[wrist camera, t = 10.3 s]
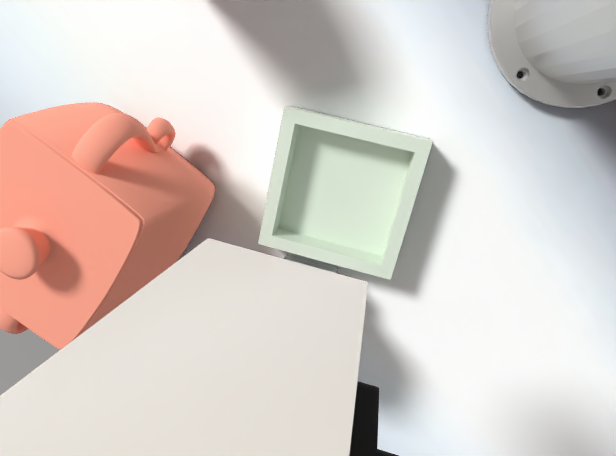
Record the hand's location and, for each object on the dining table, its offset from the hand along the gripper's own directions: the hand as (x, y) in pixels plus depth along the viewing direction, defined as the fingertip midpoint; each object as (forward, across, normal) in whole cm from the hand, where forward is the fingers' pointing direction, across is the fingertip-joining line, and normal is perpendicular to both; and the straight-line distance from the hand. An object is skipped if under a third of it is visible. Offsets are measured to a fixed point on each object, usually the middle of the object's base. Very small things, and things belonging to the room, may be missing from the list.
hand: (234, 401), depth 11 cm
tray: (+27, 0, 0) cm, 27 cm away
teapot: (+27, +21, +5) cm, 35 cm away
